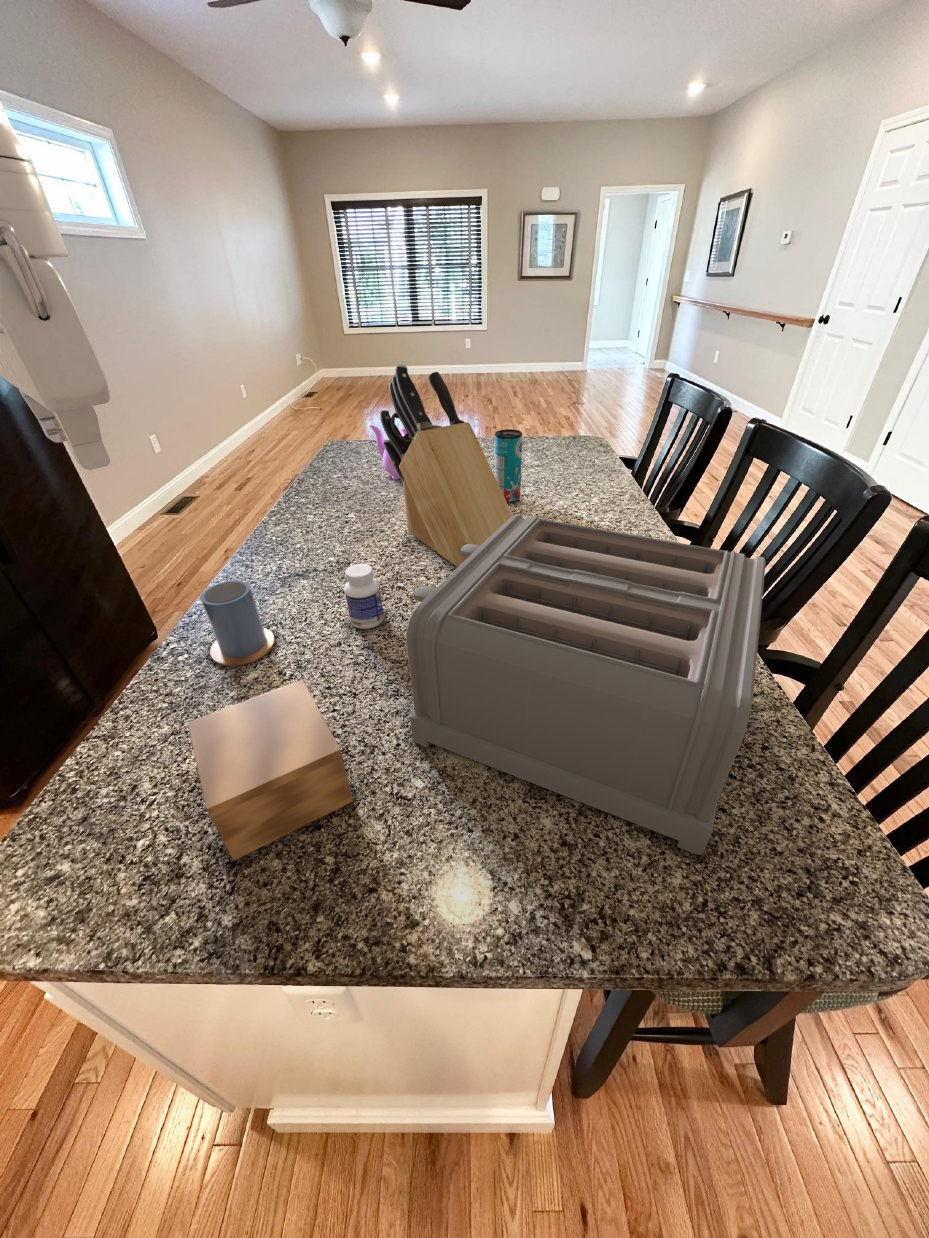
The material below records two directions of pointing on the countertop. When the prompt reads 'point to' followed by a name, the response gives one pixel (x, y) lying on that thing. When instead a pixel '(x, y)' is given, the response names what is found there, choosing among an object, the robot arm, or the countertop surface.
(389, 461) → the teapot
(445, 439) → the knife block
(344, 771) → the wood block
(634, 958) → the countertop surface
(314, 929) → the countertop surface
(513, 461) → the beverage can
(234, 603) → the cup
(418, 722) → the toaster
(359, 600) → the pill bottle
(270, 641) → the coaster
